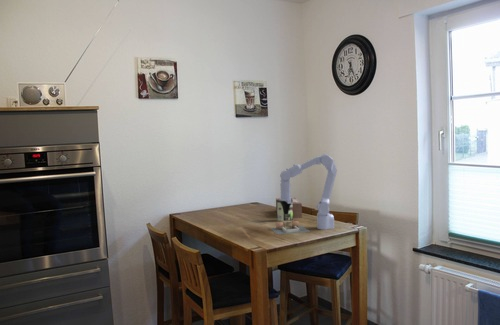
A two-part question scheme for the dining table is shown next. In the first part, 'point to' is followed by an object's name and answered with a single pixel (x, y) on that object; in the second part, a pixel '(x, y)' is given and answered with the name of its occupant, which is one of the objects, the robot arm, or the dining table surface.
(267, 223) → the dining table surface
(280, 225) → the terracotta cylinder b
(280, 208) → the coffee can
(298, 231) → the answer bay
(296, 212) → the tissue box cover
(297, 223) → the pink rounded cylinder
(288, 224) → the maple cube
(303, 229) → the slate board
